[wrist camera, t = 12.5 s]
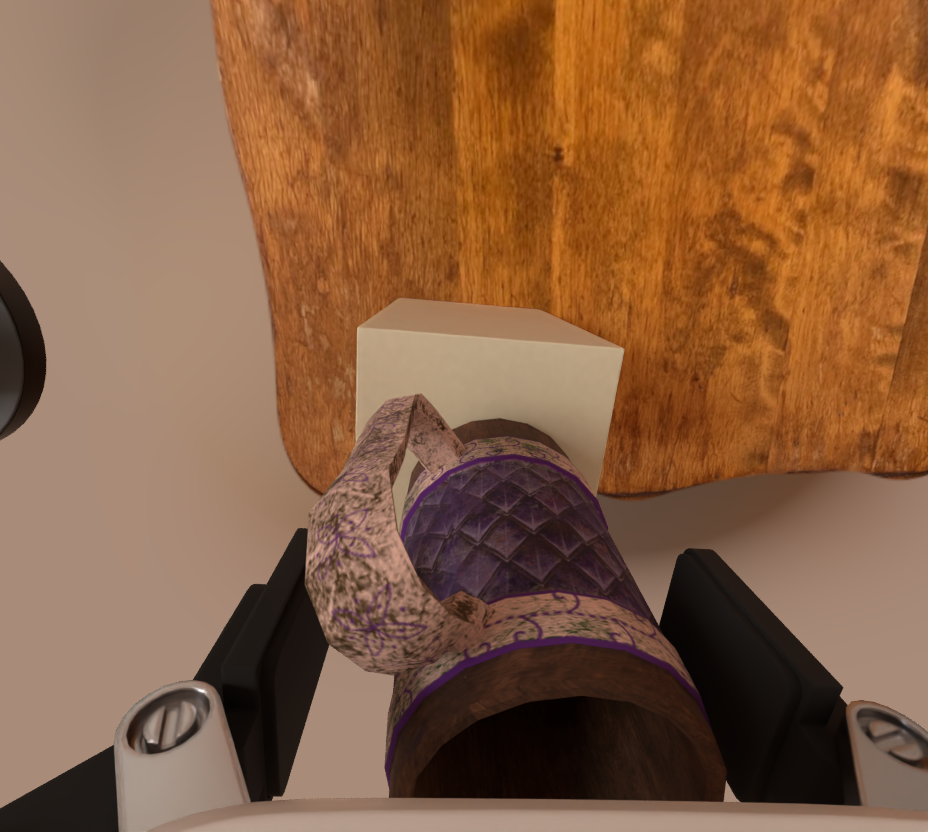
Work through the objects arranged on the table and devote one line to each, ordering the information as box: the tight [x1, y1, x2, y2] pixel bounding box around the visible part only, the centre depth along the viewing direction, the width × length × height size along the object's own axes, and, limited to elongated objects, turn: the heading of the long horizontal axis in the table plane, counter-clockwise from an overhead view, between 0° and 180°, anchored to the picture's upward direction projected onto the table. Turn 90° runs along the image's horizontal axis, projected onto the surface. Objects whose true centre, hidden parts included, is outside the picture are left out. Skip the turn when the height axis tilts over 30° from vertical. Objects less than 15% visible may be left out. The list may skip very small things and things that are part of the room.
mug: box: [305, 393, 727, 802], centre depth 13 cm, size 10×7×12 cm
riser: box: [355, 298, 625, 532], centre depth 26 cm, size 10×10×16 cm
